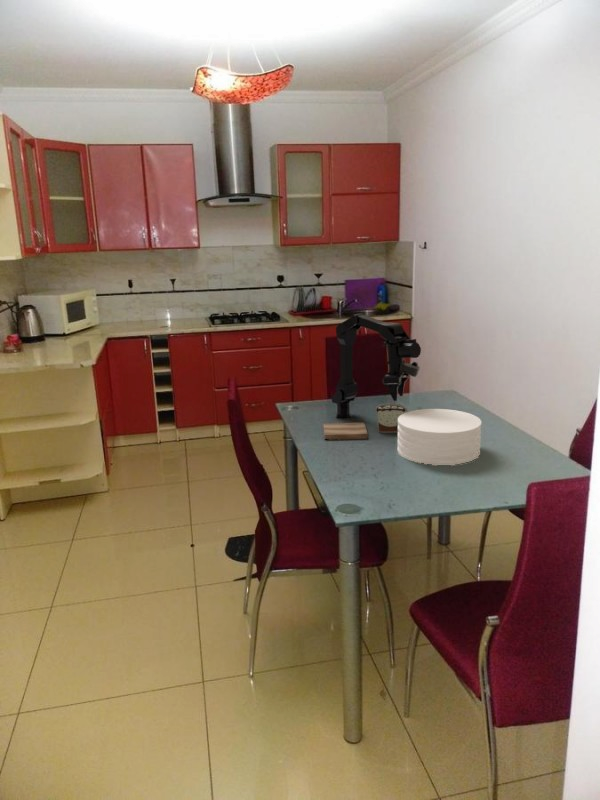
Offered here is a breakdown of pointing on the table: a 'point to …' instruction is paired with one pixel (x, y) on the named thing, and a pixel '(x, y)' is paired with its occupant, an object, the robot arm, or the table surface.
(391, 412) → the food container
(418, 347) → the robot arm
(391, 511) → the table surface
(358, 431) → the walnut block
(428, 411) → the plate stack
